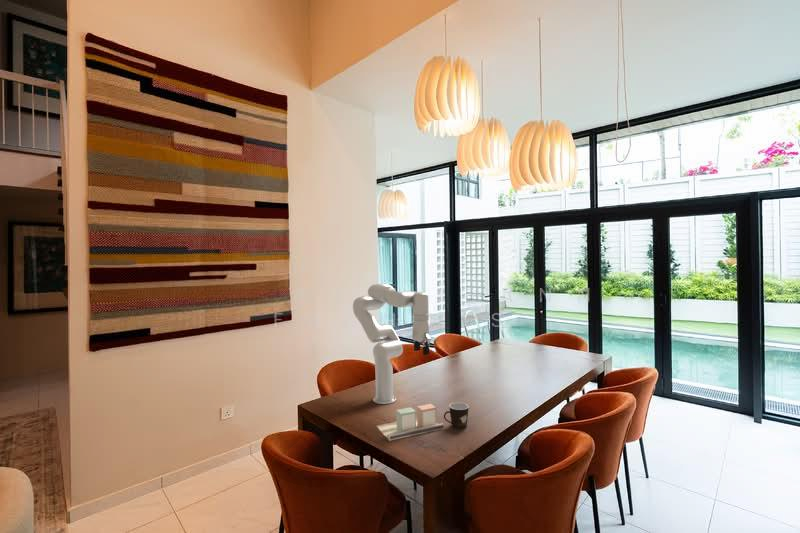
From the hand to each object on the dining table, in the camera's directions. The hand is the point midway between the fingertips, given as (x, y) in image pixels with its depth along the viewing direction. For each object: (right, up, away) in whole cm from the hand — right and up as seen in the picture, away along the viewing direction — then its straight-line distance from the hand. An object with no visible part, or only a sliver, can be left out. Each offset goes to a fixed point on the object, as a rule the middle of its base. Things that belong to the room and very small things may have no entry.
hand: (421, 352), depth 185 cm
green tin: (-8, -30, -21) cm, 37 cm away
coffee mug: (+14, -30, -17) cm, 38 cm away
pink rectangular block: (+1, -29, -17) cm, 34 cm away
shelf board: (-6, -31, -17) cm, 35 cm away
